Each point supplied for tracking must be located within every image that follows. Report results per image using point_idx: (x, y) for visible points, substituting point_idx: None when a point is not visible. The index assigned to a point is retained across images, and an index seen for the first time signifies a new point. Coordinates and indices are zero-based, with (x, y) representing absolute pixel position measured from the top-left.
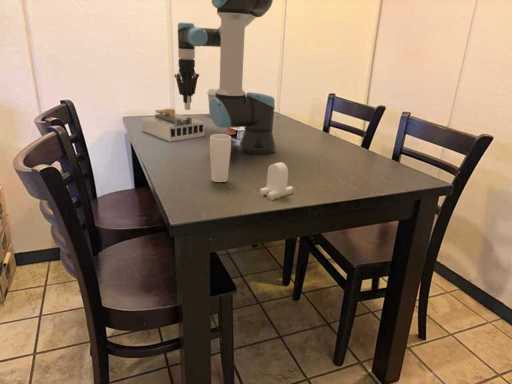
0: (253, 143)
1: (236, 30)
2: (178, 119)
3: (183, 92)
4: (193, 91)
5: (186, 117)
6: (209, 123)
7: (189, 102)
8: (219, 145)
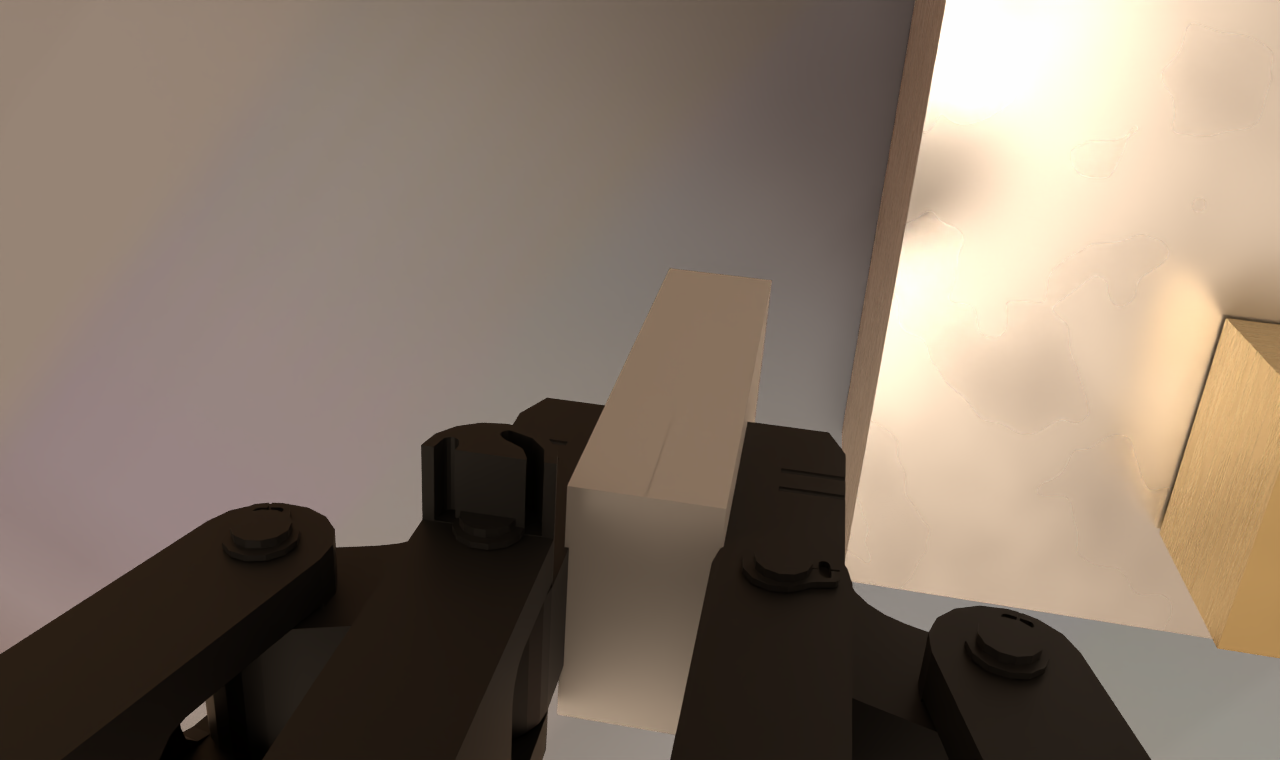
0: None
1: None
2: None
3: (1007, 707)
4: (239, 599)
5: (1003, 65)
6: (103, 241)
7: (666, 367)
8: None
